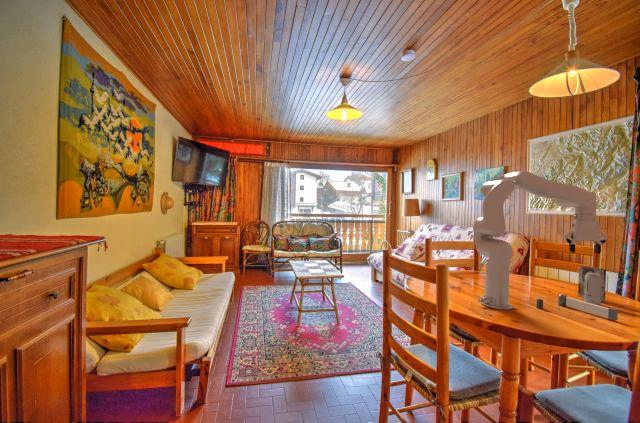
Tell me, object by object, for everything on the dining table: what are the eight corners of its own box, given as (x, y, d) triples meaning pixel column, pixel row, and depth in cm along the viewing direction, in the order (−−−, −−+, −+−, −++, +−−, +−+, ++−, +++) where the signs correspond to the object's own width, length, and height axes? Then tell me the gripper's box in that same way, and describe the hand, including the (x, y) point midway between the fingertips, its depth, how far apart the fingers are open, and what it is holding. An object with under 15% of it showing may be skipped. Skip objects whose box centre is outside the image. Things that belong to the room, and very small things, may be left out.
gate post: (563, 306, 134) (563, 296, 134) (556, 304, 137) (557, 294, 137) (568, 306, 135) (568, 295, 135) (561, 304, 138) (561, 294, 138)
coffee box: (606, 301, 144) (607, 269, 144) (593, 301, 144) (594, 269, 144) (589, 295, 153) (590, 266, 153) (577, 295, 153) (578, 266, 153)
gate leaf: (614, 320, 117) (614, 309, 117) (565, 306, 134) (565, 296, 134) (617, 320, 117) (617, 309, 117) (568, 305, 135) (568, 296, 135)
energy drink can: (581, 301, 143) (582, 271, 143) (596, 302, 142) (597, 272, 141) (588, 304, 138) (589, 274, 138) (603, 306, 136) (604, 275, 136)
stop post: (540, 309, 130) (540, 300, 130) (535, 307, 133) (535, 299, 133) (544, 308, 131) (544, 300, 131) (539, 307, 133) (539, 298, 133)
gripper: (567, 217, 135) (567, 253, 135) (613, 218, 130) (612, 255, 130) (559, 217, 142) (559, 250, 143) (602, 217, 137) (602, 252, 137)
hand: (584, 252), depth 136 cm, fingers open, 9 cm apart
